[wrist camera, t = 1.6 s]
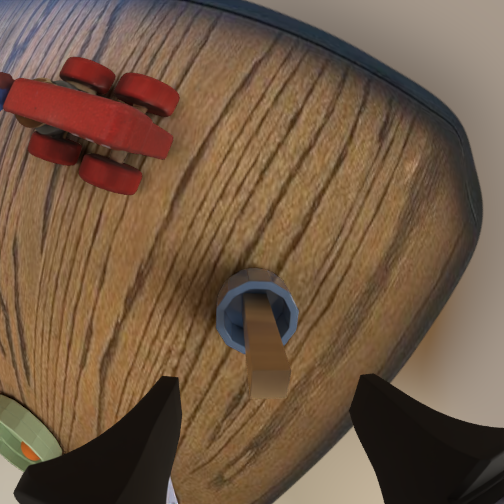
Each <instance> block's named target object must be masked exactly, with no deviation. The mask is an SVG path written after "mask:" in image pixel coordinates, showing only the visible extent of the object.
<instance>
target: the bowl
mask: <svg viewBox="0 0 504 504" xmlns="http://www.w3.org/2000/svg"><path fill="white" fill-rule="evenodd" d="M22 441H23V442H24V443H25V444H27V445H28V446H29V447H30V448H31V449H32V450H33V452H34V453H35V454H36V455H37V456H38V457H39V458H40V459H39V460H37V461H33V460H30V459H28V458H27V457H26V456H25V455H24V454H23V452H22V450H21V442H22ZM0 454H1V455H2V456H3V457H4V458H5V459H6V460H8V461H9V462H10V463H11V464H12V465H14V466H15V467H17V468H18V469H20V470H21V471H23V472H24V471H25V470H26V468H27V467H28V466H29V465H32V464H36V463H40V462H43V461H47V460H50V459H53V458H56V457H59V456H61V455H62V449H61V448H60V446H59V444H58V442H57V440H56V439H55V437H54V436H53V435H52V434H51V433H50V432H49V430H48V429H47V428H46V427H45V426H44V425H43V424H42V423H41V422H40V421H39V420H38V419H37V418H36V417H35V416H34V415H33V414H32V413H30V412H29V411H28V410H27V409H25V408H24V407H23V406H21V405H20V404H18V403H17V402H16V401H14V400H13V399H10V398H8V397H6V396H4V395H1V394H0Z"/></svg>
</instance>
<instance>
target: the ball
mask: <svg viewBox="0 0 504 504" xmlns="http://www.w3.org/2000/svg"><path fill="white" fill-rule="evenodd" d="M21 450H22V452H23V454H24V455H25V456H26V457H27V458H28V459H30V460H33V461H37V460H39V459H40V458H39V457H38V456H37V455H36V454H35V453H34V452H33V450H32V449H31V448H30V447H29V446H28V445H27V444H25V443H24V442H23V441H22V442H21Z"/></svg>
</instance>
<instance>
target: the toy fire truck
mask: <svg viewBox="0 0 504 504" xmlns="http://www.w3.org/2000/svg"><path fill="white" fill-rule="evenodd" d="M59 76H60V78H61V79H62V80H64V81H52V80H50V79H47V78H37V79H34V80H30V79H24V78H18V79H16V80H13V78H12V76H11V75H10V74H7V73H3V72H0V111H1V110H2V109H4V111H6V112H11V113H13V114H15V116H16V118H17V120H18V122H19V123H20V124H22V125H23V126H25V127H28V128H35V129H36V130H37V131H35V132H34V133H33V134H32V137H31V140H30V143H29V146H28V151H29V153H31V154H32V155H34V156H35V157H38V158H41V159H43V160H46V161H49V162H52V163H56V164H61V165H67V166H71V165H75V164H76V163H77V161H78V158H79V155H80V152H81V148H82V145H81V144H79V143H77V142H75V141H73V140H70V139H68V138H66V135H67V133H68V132H70V133H72V134H73V135H75V136H78V137H80V138H83V139H85V140H88V141H91V142H94V143H96V144H99V145H101V146H104V147H107V148H110V149H112V151H111V154H110V157H109V158H108V157H105V156H102V155H99V154H94V153H91V154H86V155H84V157H83V160H82V163H81V166H80V168H79V176H80V177H81V178H82V179H83V180H84V181H86V182H88V183H90V184H92V185H94V186H97V187H99V188H101V189H105V190H107V191H111V192H114V193H119V194H124V195H133V194H135V192H136V191H137V189H138V186H139V184H140V181H141V179H142V173H141V172H140V170H138V169H136V168H134V167H132V166H130V165H127V164H125V163H123V161H124V160H125V157H126V155H127V153H128V152H130V153H133V154H142V155H146V156H150V157H154V158H158V159H162V160H163V159H165V158H166V157H167V154H168V152H169V149H170V147H171V144H172V142H173V136H172V135H171V134H170V133H168V132H167V131H165V130H163V129H162V128H160V127H159V126H157V125H156V124H154V123H152V120H151V119H150V118H149V117H148V116H147V115H145V113H146V112H149V113H152V114H155V115H159V116H163V117H168V116H171V115H172V113H173V112H174V110H175V108H176V106H177V104H178V102H179V99H180V97H179V94H178V92H177V91H176V90H174V89H173V88H171V87H170V86H168V85H167V84H165V83H163V82H161V81H159V80H157V79H154V78H152V77H149V76H146V75H142V74H138V73H125V74H124V75H123V76H122V77H121V79H120V81H119V82H118V84H117V86H116V88H115V90H114V95H115V96H116V97H117V98H118V99H119V100H121V101H123V102H125V103H127V104H129V105H131V106H129V105H127V104H124V103H121V102H117V101H114V100H111V99H107V98H104V97H100V96H97V95H96V94H106V93H107V92H109V90H110V88H111V86H112V84H113V82H114V80H115V74H114V73H113V72H112V71H111V70H109V69H108V68H106V67H105V66H103V65H100V64H99V63H96V62H94V61H91V60H88V59H85V58H81V57H70V58H68V59H67V61H66V62H65V64H64V66H63V68H62V70H61V71H60V75H59ZM132 106H133V107H132Z"/></svg>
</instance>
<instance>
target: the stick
mask: <svg viewBox="0 0 504 504" xmlns="http://www.w3.org/2000/svg"><path fill="white" fill-rule="evenodd" d="M242 318H243V329H244V340H245V352H246V362H247V373H248V384H249V394H250V399H276V398H287V393H288V387H289V381H290V375H291V368H290V365H289V362H288V359H287V356H286V353H285V349H284V346H283V343H282V340H281V337H280V334H279V331H278V328H277V325H276V322H275V318H274V315H273V312H272V309H271V306H270V303H269V300H268V297H267V294H253V293H244V294H243V308H242Z"/></svg>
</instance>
